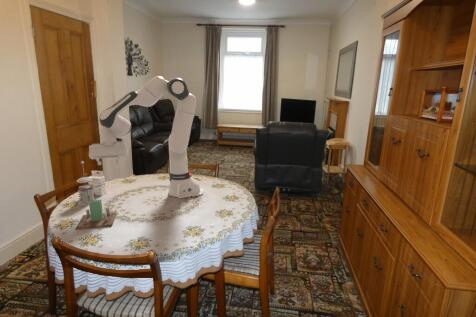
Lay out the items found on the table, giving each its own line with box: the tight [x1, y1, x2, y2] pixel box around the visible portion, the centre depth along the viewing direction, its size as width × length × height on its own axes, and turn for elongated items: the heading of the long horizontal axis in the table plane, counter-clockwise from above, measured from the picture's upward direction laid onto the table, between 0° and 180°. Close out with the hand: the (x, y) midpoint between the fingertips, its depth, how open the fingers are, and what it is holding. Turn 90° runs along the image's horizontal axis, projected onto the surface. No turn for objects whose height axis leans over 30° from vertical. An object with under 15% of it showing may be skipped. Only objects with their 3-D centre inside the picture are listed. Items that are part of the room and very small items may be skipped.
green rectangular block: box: [88, 199, 104, 221], centre depth 145 cm, size 5×3×10 cm, turn 105°
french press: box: [76, 160, 96, 207], centre depth 165 cm, size 10×12×25 cm
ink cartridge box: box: [87, 170, 107, 197], centre depth 179 cm, size 9×5×15 cm, turn 84°
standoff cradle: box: [75, 207, 117, 231], centre depth 146 cm, size 16×14×5 cm
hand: (108, 163), depth 159 cm, fingers open, 8 cm apart
